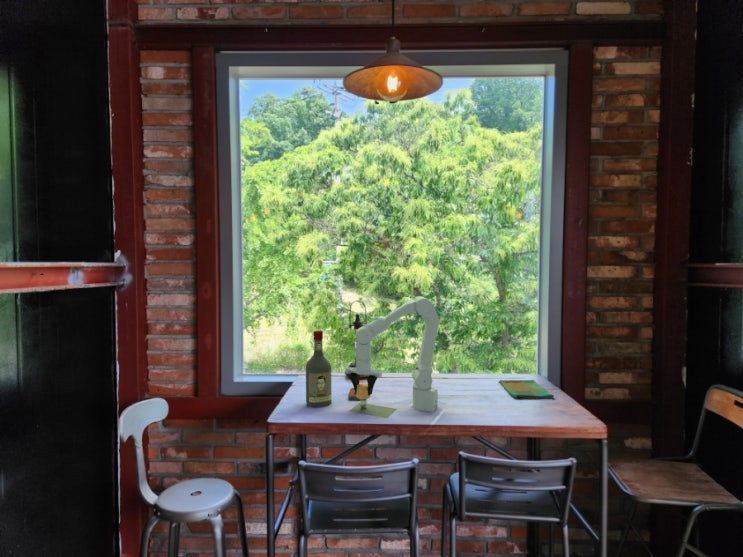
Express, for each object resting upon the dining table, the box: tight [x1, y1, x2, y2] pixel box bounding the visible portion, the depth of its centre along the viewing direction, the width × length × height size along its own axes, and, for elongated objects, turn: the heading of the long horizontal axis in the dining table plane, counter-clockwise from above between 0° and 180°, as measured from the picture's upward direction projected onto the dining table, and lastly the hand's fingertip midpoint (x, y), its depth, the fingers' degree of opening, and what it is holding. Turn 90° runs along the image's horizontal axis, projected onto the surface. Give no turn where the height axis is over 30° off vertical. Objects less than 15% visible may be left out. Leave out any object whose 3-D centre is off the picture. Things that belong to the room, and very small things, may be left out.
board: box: [348, 402, 398, 419], centre depth 166 cm, size 16×10×1 cm, turn 65°
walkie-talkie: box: [348, 387, 360, 401], centre depth 185 cm, size 9×4×20 cm
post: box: [359, 399, 368, 410], centre depth 167 cm, size 2×2×4 cm
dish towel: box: [498, 379, 555, 400], centre depth 192 cm, size 17×23×2 cm
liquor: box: [305, 330, 333, 409], centre depth 172 cm, size 9×9×30 cm
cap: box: [357, 383, 371, 400], centre depth 167 cm, size 5×5×4 cm
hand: (363, 393), depth 167 cm, fingers closed on cap, 5 cm apart
